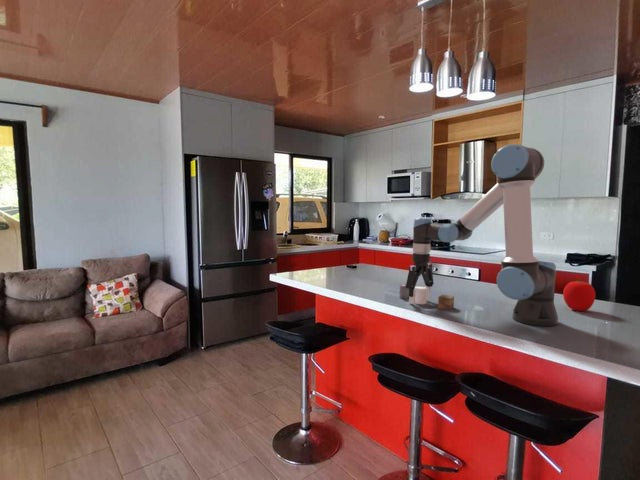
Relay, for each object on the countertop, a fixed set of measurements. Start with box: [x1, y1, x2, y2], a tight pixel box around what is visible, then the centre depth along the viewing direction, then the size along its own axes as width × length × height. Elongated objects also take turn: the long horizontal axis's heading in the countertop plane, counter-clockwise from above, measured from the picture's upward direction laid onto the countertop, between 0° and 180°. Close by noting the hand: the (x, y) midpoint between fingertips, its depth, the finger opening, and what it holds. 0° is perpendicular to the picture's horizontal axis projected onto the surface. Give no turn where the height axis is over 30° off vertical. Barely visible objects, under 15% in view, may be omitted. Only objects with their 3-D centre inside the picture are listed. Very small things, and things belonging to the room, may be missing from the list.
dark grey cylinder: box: [398, 283, 409, 300], centre depth 176 cm, size 5×5×6 cm
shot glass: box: [414, 285, 428, 305], centre depth 167 cm, size 7×7×7 cm
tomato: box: [562, 280, 596, 312], centre depth 157 cm, size 11×11×13 cm
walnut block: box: [437, 294, 455, 311], centre depth 159 cm, size 5×5×5 cm
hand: (419, 302), depth 168 cm, fingers open, 10 cm apart
